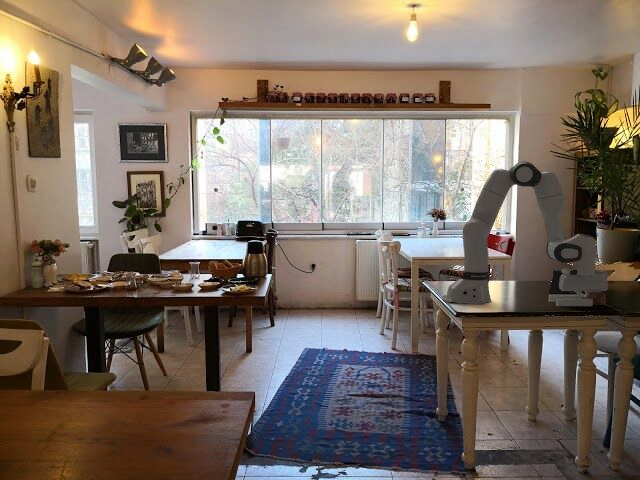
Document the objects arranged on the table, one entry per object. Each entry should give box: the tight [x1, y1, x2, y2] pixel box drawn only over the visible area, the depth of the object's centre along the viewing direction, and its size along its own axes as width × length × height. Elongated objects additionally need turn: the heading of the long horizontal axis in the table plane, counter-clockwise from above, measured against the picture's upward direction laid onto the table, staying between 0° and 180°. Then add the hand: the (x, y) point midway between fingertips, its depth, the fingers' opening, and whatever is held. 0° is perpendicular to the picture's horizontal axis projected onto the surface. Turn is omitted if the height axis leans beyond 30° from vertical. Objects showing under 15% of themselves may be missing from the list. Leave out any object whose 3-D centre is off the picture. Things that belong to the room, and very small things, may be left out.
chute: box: [548, 294, 593, 307], centre depth 229 cm, size 15×10×4 cm, turn 87°
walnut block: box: [587, 291, 607, 306], centre depth 228 cm, size 6×6×5 cm
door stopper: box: [548, 268, 571, 295], centre depth 256 cm, size 9×6×12 cm, turn 122°
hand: (582, 300), depth 228 cm, fingers closed
